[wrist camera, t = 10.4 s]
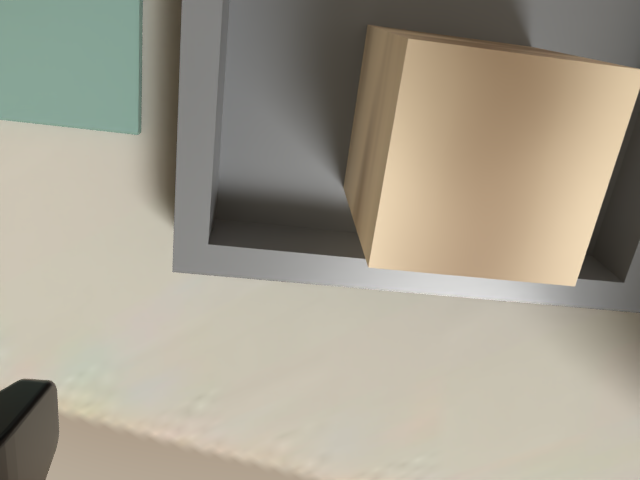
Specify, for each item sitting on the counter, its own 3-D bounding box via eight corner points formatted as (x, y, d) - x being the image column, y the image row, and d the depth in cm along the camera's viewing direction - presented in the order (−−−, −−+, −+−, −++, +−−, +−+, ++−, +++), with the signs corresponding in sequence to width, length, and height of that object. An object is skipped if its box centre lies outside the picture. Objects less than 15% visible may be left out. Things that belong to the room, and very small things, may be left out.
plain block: (531, 46, 18) (645, 69, 12) (491, 203, 19) (575, 286, 14) (367, 24, 17) (408, 38, 11) (343, 188, 19) (368, 267, 13)
